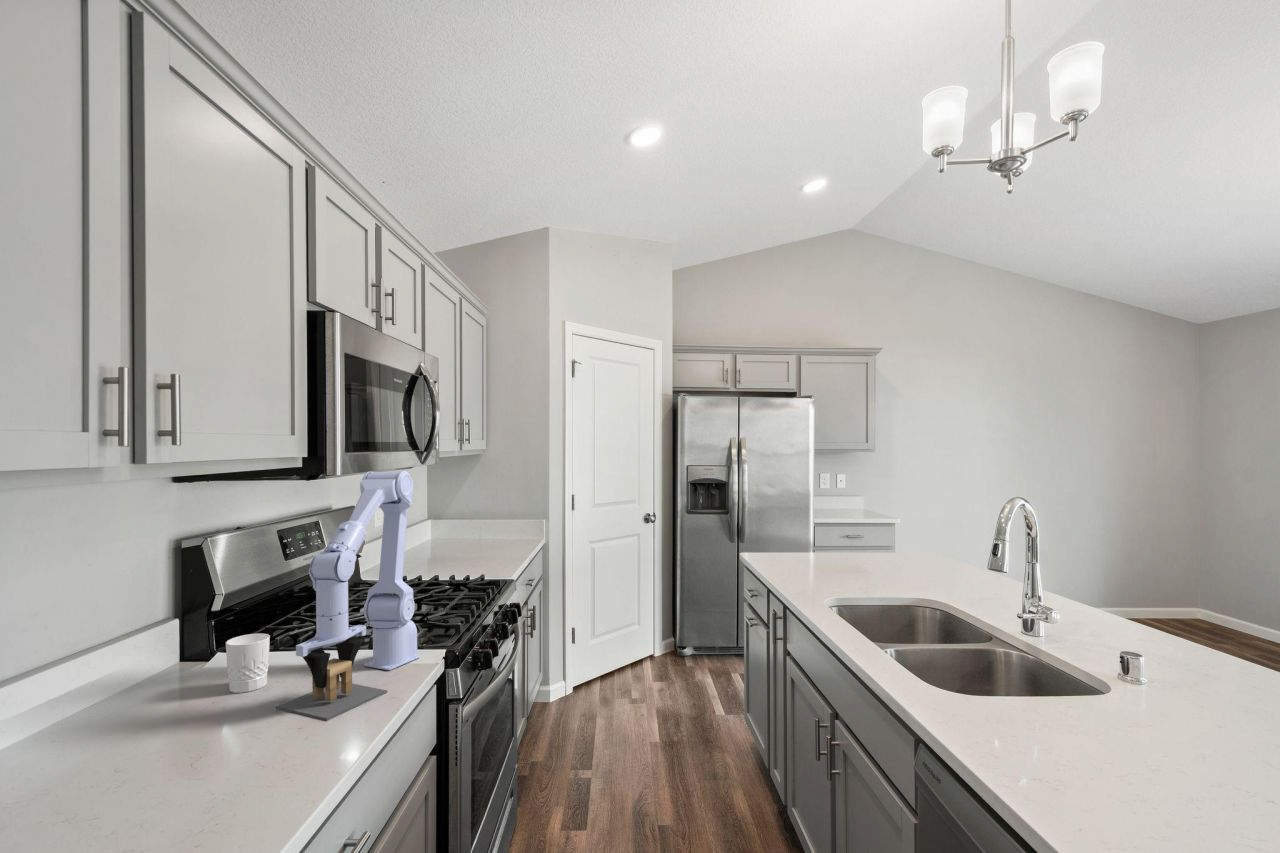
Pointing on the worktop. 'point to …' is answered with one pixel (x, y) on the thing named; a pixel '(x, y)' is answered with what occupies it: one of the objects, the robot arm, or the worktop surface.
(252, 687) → the white cup
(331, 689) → the tan notched block
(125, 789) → the worktop surface
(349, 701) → the mat
